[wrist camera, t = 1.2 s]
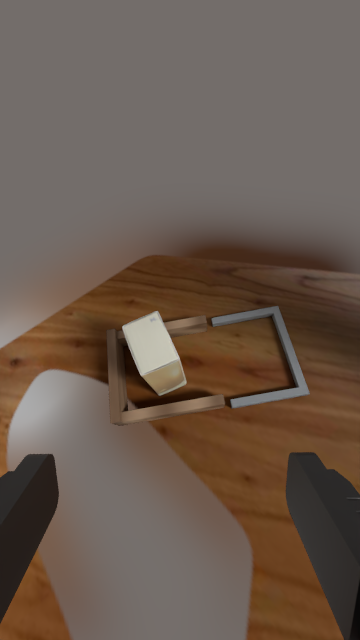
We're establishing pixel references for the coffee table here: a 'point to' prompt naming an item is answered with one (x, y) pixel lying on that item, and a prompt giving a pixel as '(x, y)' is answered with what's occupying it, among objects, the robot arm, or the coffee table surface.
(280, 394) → the bracket
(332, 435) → the coffee table surface
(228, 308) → the coffee table surface
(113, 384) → the frame
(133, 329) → the skincare box
